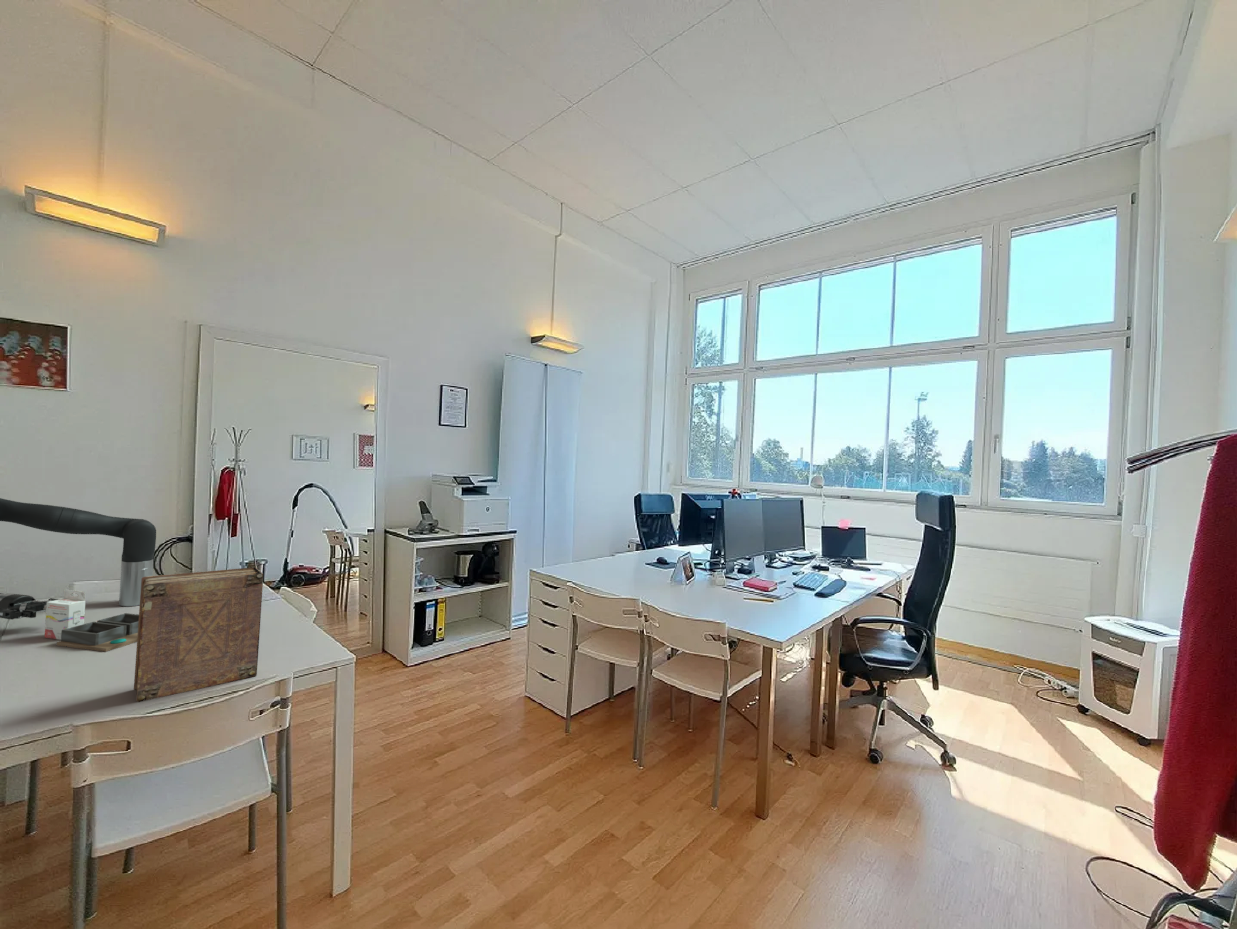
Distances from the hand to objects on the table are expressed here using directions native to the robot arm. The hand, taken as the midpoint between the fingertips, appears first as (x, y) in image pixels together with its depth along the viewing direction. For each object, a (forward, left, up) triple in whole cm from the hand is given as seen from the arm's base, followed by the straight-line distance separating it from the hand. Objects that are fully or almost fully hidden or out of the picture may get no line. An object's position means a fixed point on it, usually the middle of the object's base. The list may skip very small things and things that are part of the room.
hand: (51, 610), depth 162 cm
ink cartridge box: (0, +5, -8) cm, 10 cm away
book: (+16, +72, -8) cm, 74 cm away
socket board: (-4, +20, -8) cm, 22 cm away
